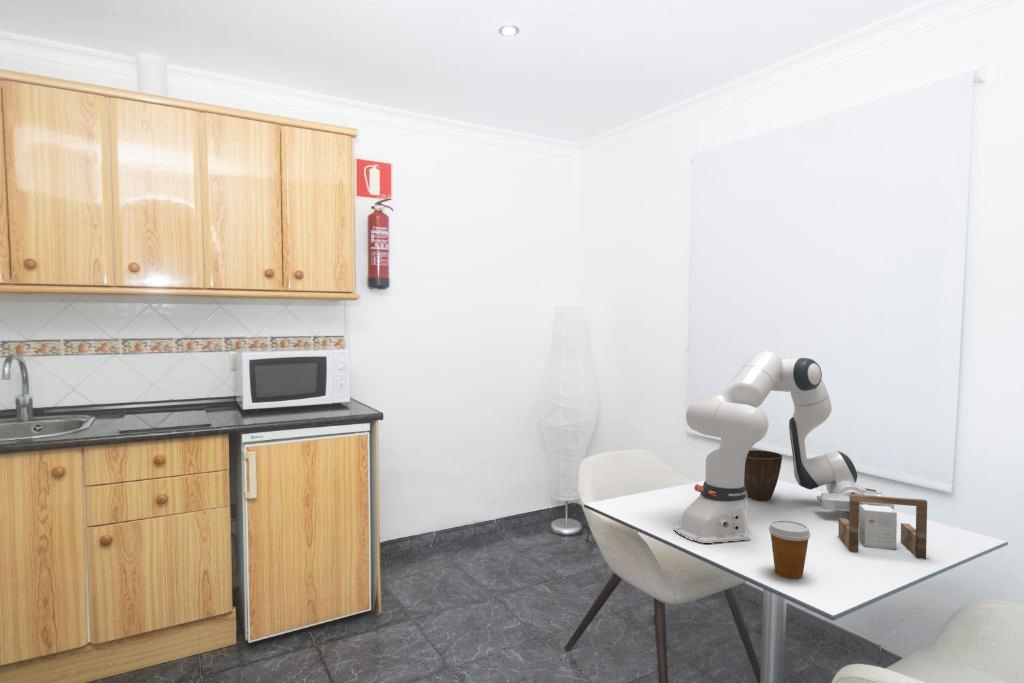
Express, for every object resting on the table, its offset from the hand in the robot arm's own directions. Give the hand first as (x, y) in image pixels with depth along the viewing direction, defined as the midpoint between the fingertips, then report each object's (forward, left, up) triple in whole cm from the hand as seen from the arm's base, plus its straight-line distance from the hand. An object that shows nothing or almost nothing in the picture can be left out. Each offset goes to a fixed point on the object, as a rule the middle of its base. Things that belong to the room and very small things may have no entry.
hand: (863, 511), depth 177 cm
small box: (-9, -11, -5) cm, 15 cm away
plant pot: (-4, +36, -5) cm, 36 cm away
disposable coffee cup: (-48, -14, -5) cm, 51 cm away
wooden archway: (-10, -12, -5) cm, 17 cm away
